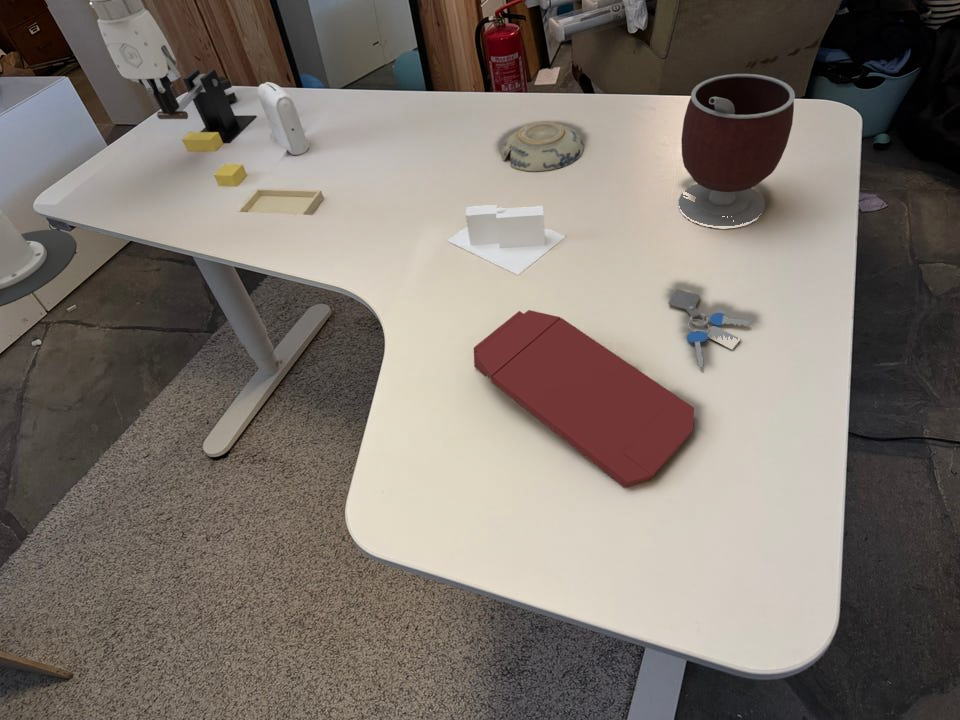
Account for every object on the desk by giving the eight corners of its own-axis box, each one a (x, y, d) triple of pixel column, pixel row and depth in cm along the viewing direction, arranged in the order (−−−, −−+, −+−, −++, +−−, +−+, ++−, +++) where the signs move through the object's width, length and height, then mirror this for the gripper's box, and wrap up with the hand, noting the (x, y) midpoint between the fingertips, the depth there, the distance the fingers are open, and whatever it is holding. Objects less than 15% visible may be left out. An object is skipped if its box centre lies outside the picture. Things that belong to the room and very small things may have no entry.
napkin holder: (566, 235, 92) (566, 203, 88) (519, 275, 87) (516, 242, 82) (493, 206, 100) (489, 175, 95) (445, 241, 94) (439, 209, 90)
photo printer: (312, 149, 122) (291, 88, 113) (293, 158, 120) (270, 96, 111) (291, 134, 128) (270, 74, 119) (273, 141, 126) (249, 82, 117)
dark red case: (692, 437, 69) (528, 322, 79) (705, 415, 65) (530, 296, 75) (629, 510, 63) (462, 376, 74) (638, 490, 60) (461, 351, 70)
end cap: (195, 108, 144) (181, 79, 139) (221, 96, 147) (209, 67, 142) (213, 118, 138) (200, 88, 134) (240, 106, 141) (228, 76, 136)
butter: (217, 155, 125) (210, 139, 123) (189, 155, 127) (181, 139, 124) (225, 147, 127) (218, 132, 125) (197, 147, 129) (189, 131, 126)
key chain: (662, 294, 80) (663, 289, 79) (724, 284, 80) (725, 279, 79) (698, 371, 70) (699, 366, 70) (768, 360, 70) (770, 355, 70)
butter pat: (239, 190, 114) (231, 175, 111) (220, 190, 115) (213, 175, 112) (249, 179, 116) (242, 164, 114) (231, 179, 117) (224, 164, 115)
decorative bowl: (600, 144, 109) (537, 123, 117) (601, 124, 107) (536, 104, 115) (547, 182, 103) (484, 157, 111) (546, 162, 100) (482, 138, 108)
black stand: (231, 147, 127) (204, 86, 117) (191, 147, 129) (161, 87, 120) (258, 120, 134) (234, 61, 125) (220, 121, 137) (194, 62, 128)
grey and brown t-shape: (186, 122, 117) (180, 111, 115) (161, 123, 118) (154, 111, 116) (221, 84, 125) (215, 73, 123) (197, 85, 126) (191, 74, 125)
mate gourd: (702, 172, 99) (722, 43, 84) (786, 197, 91) (824, 61, 77) (649, 218, 92) (662, 86, 78) (735, 249, 85) (767, 110, 70)
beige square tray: (291, 241, 100) (288, 233, 99) (224, 238, 103) (220, 230, 102) (323, 198, 108) (321, 190, 107) (260, 196, 111) (257, 188, 110)
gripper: (69, 16, 103) (128, 120, 116) (141, 12, 99) (194, 119, 112) (97, 1, 108) (151, 102, 121) (167, -4, 104) (214, 101, 117)
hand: (171, 110), depth 117 cm, fingers closed
